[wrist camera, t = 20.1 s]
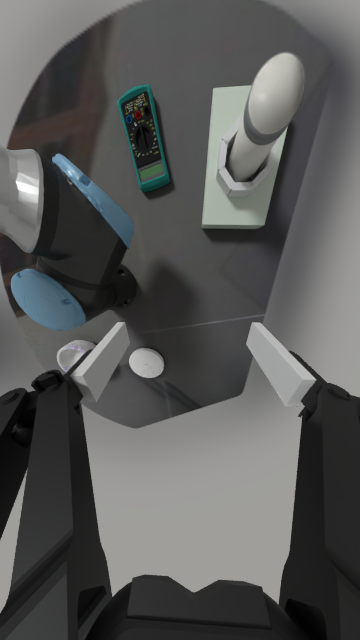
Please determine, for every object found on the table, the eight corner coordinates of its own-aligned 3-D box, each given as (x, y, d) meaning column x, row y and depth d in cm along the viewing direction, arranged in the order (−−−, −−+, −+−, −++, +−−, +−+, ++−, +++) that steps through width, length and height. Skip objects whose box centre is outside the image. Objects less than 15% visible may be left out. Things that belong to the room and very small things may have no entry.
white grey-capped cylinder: (224, 185, 28) (243, 136, 17) (229, 143, 26) (254, 55, 15) (254, 184, 28) (294, 133, 17) (262, 141, 25) (315, 48, 14)
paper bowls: (103, 336, 53) (89, 348, 45) (112, 366, 59) (100, 381, 51) (68, 335, 54) (49, 346, 47) (80, 364, 60) (64, 378, 53)
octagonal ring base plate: (201, 228, 35) (203, 220, 29) (211, 111, 27) (216, 65, 21) (256, 229, 34) (271, 221, 28) (283, 107, 26) (312, 57, 20)
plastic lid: (127, 363, 57) (124, 367, 55) (139, 340, 52) (137, 344, 50) (155, 378, 59) (154, 382, 57) (170, 357, 54) (169, 361, 51)
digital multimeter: (152, 92, 27) (148, 74, 25) (171, 184, 33) (168, 177, 30) (121, 109, 29) (113, 93, 26) (143, 195, 34) (139, 189, 31)
